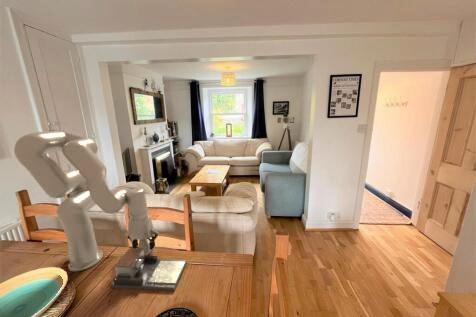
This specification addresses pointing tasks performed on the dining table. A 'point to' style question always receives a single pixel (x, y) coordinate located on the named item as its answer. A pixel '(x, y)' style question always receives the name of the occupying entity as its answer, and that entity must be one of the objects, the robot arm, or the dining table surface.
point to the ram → (130, 263)
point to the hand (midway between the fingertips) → (144, 247)
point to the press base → (154, 275)
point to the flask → (145, 246)
